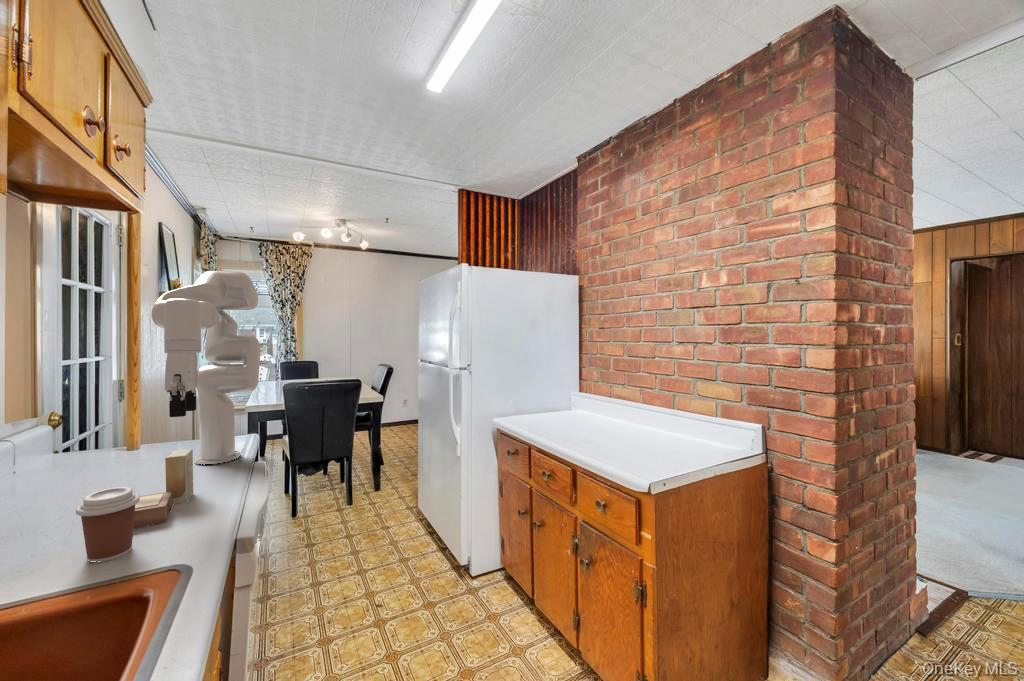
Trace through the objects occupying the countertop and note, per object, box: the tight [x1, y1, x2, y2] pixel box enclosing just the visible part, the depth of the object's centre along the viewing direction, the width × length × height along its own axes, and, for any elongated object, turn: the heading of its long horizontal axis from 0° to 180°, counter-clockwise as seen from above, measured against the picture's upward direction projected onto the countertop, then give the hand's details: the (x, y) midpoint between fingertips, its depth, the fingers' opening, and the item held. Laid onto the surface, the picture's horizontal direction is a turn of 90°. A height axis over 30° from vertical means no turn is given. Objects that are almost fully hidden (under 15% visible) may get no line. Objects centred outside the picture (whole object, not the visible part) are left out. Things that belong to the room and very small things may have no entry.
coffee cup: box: [75, 486, 140, 562], centre depth 83 cm, size 9×9×12 cm
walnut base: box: [133, 491, 174, 529], centre depth 98 cm, size 10×10×4 cm
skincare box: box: [164, 448, 194, 505], centre depth 108 cm, size 6×4×12 cm
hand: (183, 413), depth 109 cm, fingers open, 9 cm apart
